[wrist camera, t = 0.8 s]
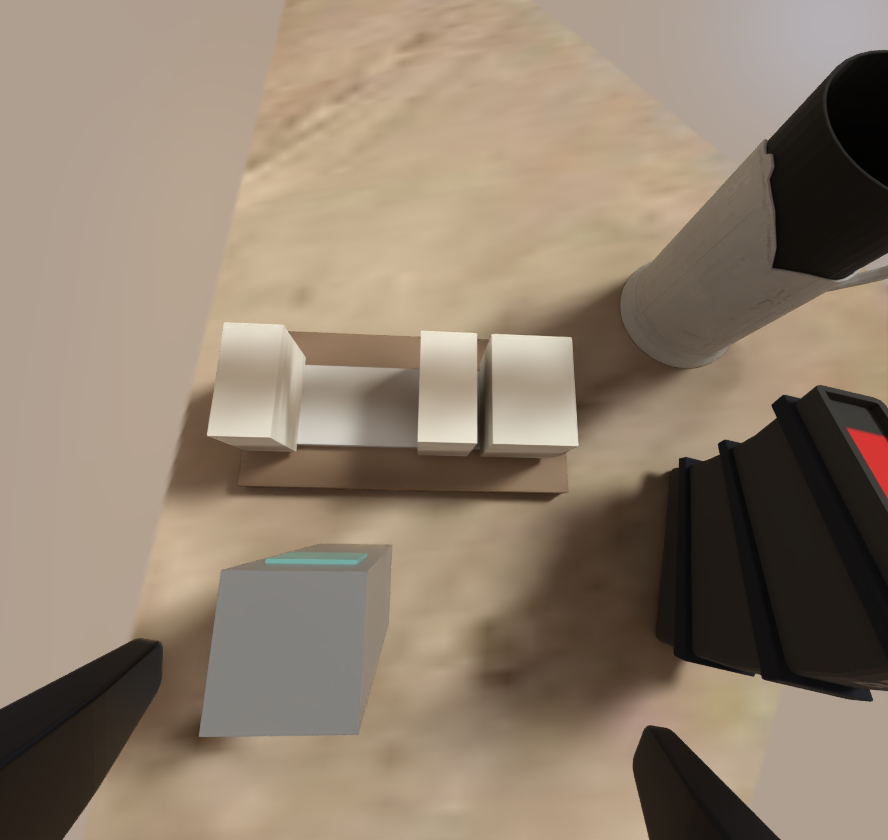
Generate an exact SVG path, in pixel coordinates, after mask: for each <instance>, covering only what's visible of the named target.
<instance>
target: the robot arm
mask: <svg viewBox="0 0 888 840" xmlns="http://www.w3.org/2000/svg"><path fill="white" fill-rule="evenodd" d="M162 658H163V646H162V644H161V642H159V641H155V640H149V639H144V638H138V639H135V640H132V641H130V642H128V643H126V644H124V645H123V646H121V647H119V648H117V649H115V650H113V651H111V652H109V653H107V654H105V655H103V656H101V657H100V658H98V659H96V660H94V661H92V662H90V663H88V664H86V665H84V666H82V667H80V668H78V669H76V670H75V671H73V672H71V673H69V674H67V675H65V676H63V677H61V678H59V679H57V680H56V681H53V682H51V683H50V684H48V685H46V686H44V687H42V688H40V689H38V690H36V691H34V692H32V693H30V694H29V695H27V696H25V697H23V698H21V699H19V700H17V701H15V702H13V703H11V704H9V705H7V706H5V707H3V708H2V709H0V840H63V838H64V837H65V835H66V834H67V833H68V831H69V830H70V828H71V827H72V825H73V824H74V823H75V821H76V820H77V819H78V817H79V816H80V814H81V813H82V812H83V810H84V809H85V807H86V806H87V804H88V803H89V801H90V800H91V799H92V797H93V796H94V794H95V793H96V791H97V790H98V788H99V786H100V785H101V783H102V782H103V780H104V778H105V777H106V775H107V774H108V772H109V770H110V769H111V767H112V765H113V764H114V762H115V760H116V759H117V757H118V755H119V754H120V752H121V751H122V749H123V747H124V746H125V744H126V742H127V741H128V739H129V737H130V736H131V734H132V732H133V731H134V729H135V727H136V726H137V724H138V723H139V721H140V719H141V718H142V716H143V714H144V713H145V711H146V709H147V708H148V706H149V704H150V703H151V701H152V699H153V698H154V696H155V694H156V693H157V691H158V689H159V686H160V683H161V679H162ZM633 773H634V778H635V782H636V786H637V790H638V794H639V799H640V803H641V807H642V811H643V815H644V819H645V824H646V828H647V832H648V836H649V840H780V839H779V838H778V837H777V836H776V835H775V834H774V833H773V832H772V831H771V830H770V829H769V828H768V827H767V826H766V825H765V824H764V823H763V822H762V821H761V820H760V819H759V818H758V817H757V816H756V815H755V813H754V812H753V811H752V810H751V809H750V808H749V807H748V806H747V805H746V804H745V803H744V802H743V801H742V800H741V799H740V798H739V797H738V796H737V795H736V794H735V793H734V792H733V791H732V790H731V789H730V788H729V787H728V786H727V785H726V784H725V783H724V782H723V781H722V780H721V779H720V778H719V777H718V776H717V775H716V774H715V773H714V772H713V771H712V770H711V769H710V768H709V767H708V766H707V765H706V764H705V763H704V762H703V761H702V760H701V759H700V758H699V757H698V756H697V755H696V754H695V753H694V752H693V751H692V750H691V749H690V748H689V747H688V746H687V745H686V744H685V743H684V742H683V741H682V740H681V739H680V738H679V737H678V736H677V735H676V734H675V733H674V732H673V731H671V730H670V729H668V728H664V727H658V726H652V725H649V726H647V727H646V728H645V729H644V731H643V733H642V736H641V738H640V741H639V744H638V746H637V749H636V752H635V754H634V758H633Z"/></svg>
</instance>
